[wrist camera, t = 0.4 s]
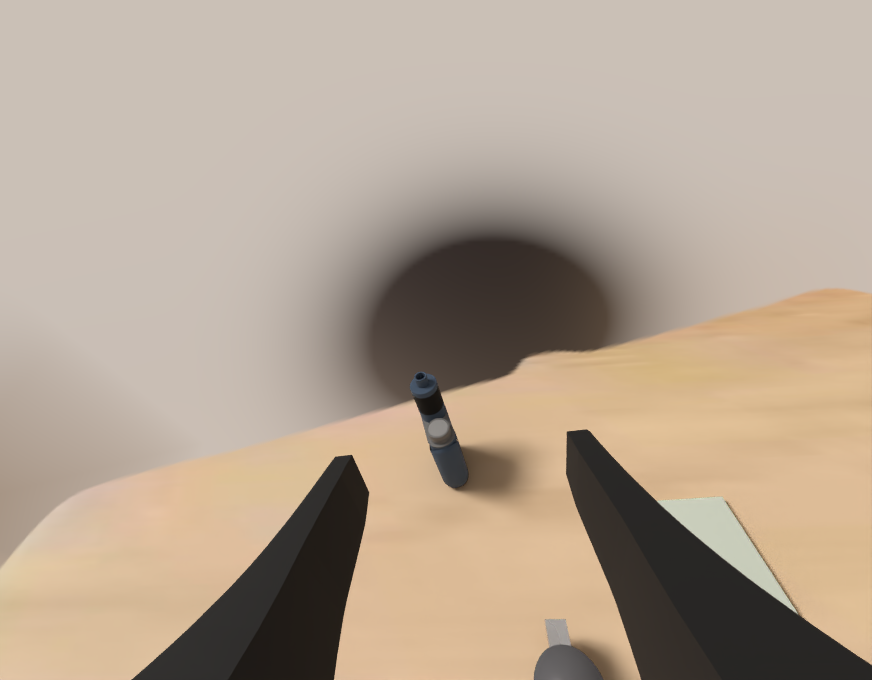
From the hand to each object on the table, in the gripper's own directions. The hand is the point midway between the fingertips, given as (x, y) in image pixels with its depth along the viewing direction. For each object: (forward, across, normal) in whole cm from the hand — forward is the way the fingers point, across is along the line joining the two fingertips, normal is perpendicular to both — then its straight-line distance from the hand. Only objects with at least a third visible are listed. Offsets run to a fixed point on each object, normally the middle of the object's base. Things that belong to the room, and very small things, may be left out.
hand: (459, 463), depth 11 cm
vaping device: (+15, +3, +19) cm, 24 cm away
